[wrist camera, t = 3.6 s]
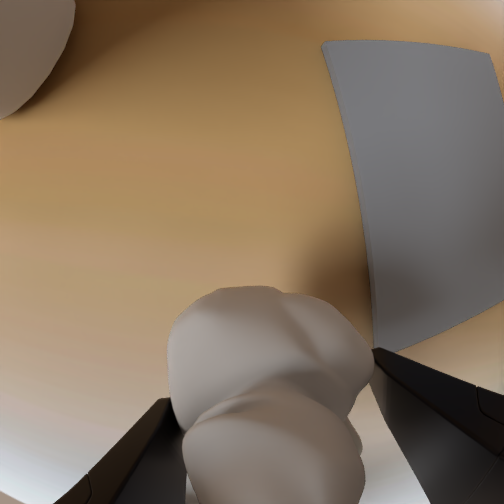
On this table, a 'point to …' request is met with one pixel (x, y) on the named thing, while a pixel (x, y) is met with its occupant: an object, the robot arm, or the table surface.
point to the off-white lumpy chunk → (268, 397)
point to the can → (30, 46)
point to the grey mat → (424, 180)
